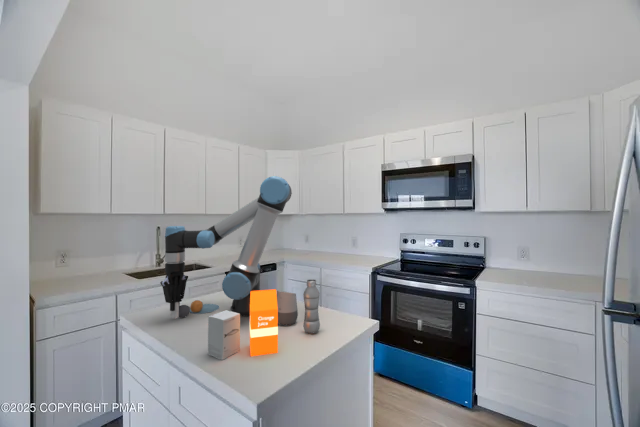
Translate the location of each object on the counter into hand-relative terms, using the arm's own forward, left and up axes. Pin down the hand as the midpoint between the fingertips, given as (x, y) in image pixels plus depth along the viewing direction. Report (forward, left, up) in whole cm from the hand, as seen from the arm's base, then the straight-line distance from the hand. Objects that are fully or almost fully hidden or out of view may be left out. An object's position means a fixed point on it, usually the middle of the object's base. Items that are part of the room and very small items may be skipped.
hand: (174, 317), depth 119 cm
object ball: (-2, -13, +1) cm, 13 cm away
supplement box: (-34, +23, -2) cm, 41 cm away
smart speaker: (-48, -5, -2) cm, 48 cm away
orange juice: (-46, +19, -2) cm, 49 cm away
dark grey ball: (0, -6, +1) cm, 6 cm away
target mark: (-3, -18, -2) cm, 18 cm away
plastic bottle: (-60, +3, -2) cm, 60 cm away
